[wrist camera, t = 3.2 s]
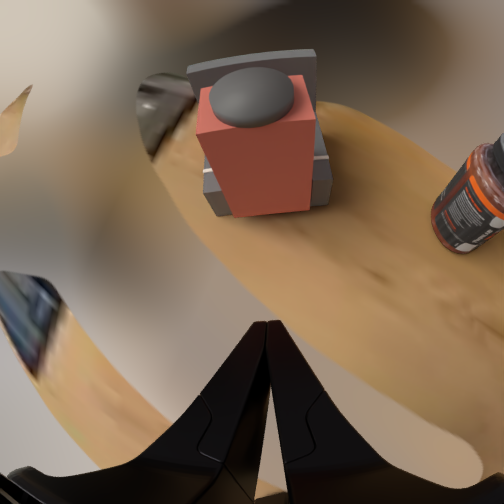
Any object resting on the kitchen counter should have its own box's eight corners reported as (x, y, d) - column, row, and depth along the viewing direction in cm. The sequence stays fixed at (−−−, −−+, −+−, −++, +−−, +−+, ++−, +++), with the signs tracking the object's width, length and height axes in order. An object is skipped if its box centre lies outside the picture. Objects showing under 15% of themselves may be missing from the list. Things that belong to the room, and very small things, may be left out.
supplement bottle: (468, 268, 19) (549, 216, 9) (419, 232, 21) (486, 155, 11) (482, 219, 20) (547, 157, 10) (438, 186, 22) (491, 107, 12)
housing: (328, 204, 23) (343, 121, 14) (216, 216, 24) (173, 142, 15) (312, 131, 26) (313, 49, 16) (217, 142, 27) (187, 66, 18)
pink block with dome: (309, 212, 22) (317, 110, 12) (234, 220, 22) (190, 126, 12) (302, 167, 23) (301, 62, 13) (233, 174, 24) (197, 77, 14)
